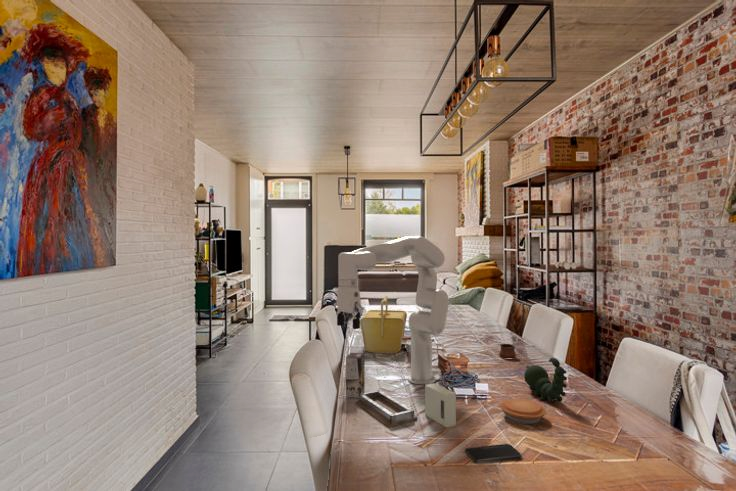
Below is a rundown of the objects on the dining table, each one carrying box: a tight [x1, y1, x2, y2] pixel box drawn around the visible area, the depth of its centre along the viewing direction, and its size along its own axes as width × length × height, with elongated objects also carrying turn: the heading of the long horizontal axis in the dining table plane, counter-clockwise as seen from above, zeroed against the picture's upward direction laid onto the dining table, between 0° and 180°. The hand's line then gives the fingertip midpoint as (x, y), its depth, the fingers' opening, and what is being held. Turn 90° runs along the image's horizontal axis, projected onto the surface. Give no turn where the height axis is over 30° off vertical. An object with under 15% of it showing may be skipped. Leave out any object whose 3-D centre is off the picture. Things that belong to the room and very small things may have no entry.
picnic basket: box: [360, 295, 408, 354], centre depth 252 cm, size 29×26×30 cm
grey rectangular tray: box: [355, 389, 418, 428], centre depth 156 cm, size 12×24×4 cm, turn 29°
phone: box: [464, 443, 523, 465], centre depth 124 cm, size 8×1×15 cm
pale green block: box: [424, 382, 457, 428], centre depth 148 cm, size 4×12×11 cm, turn 29°
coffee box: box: [345, 352, 366, 399], centre depth 175 cm, size 9×6×16 cm
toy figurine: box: [523, 357, 568, 403], centre depth 171 cm, size 9×19×25 cm
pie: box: [499, 398, 547, 425], centre depth 150 cm, size 15×16×5 cm
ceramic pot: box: [498, 343, 517, 359], centre depth 230 cm, size 18×18×7 cm
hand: (348, 326), depth 165 cm, fingers open, 9 cm apart
